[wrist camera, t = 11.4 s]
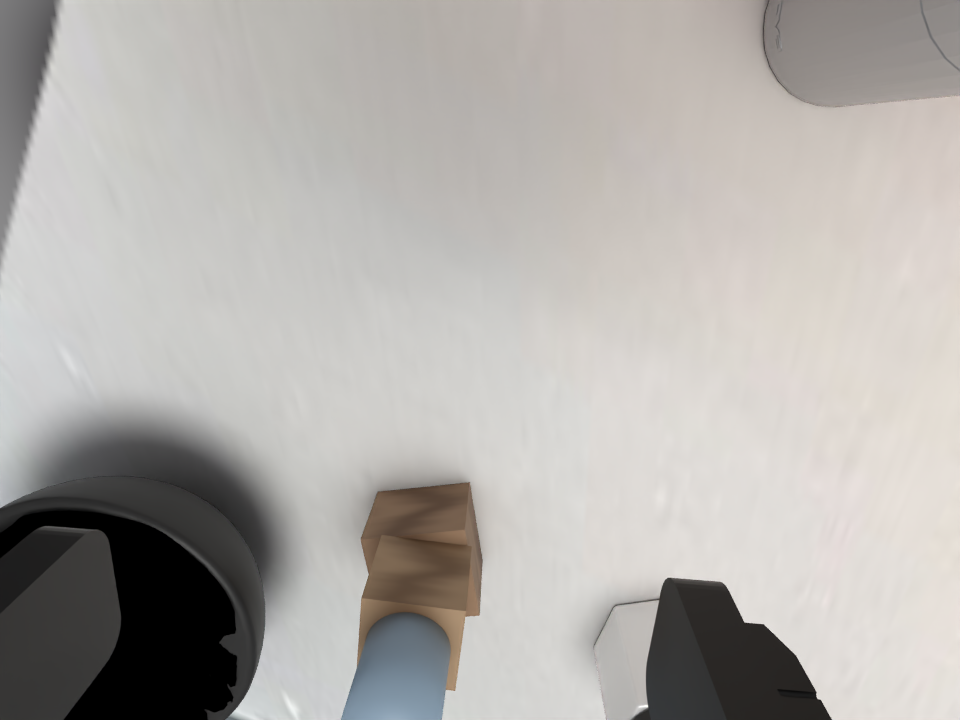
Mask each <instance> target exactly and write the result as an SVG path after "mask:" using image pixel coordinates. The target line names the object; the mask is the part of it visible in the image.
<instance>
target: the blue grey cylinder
mask: <svg viewBox="0 0 960 720" xmlns="http://www.w3.org/2000/svg"><path fill="white" fill-rule="evenodd" d="M450 653H451V647H450V642H449V639H448V636H447V635H446V633H445V631H444V630H443V629H442V628H441V627H440V626H439V625H438V624H437V623H436V622H434V621H433V620H431V619H429V618H427V617H425V616H423V615H419V614H415V613H408V612H400V613H394V614H390V615H387V616H385V617H383V618H381V619H380V620H378V621H377V622H376V623H375V624H374V625H373V626H372V627H371V628H370V630H369V632H368V635H367V638H366V641H365V644H364V647H363V650H362V654H361V657H360V660H359V663H358V666H357V670H356V673H355V676H354V679H353V683H352V686H351V689H350V692H349V695H348V699H347V702H346V705H345V708H344V711H343V715H342V718H341V720H442V713H443V706H444V698H445V691H446V683H447V676H448V668H449V661H450Z"/></svg>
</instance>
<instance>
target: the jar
mask: <svg viewBox="0 0 960 720" xmlns="http://www.w3.org/2000/svg"><path fill="white" fill-rule="evenodd" d="M658 604H659V600H654V601H647V602H640V603H632V604H625V605H618V606H615V607H614V608H613V610H612V612H611V614H610V616H609V618H608V620H607V622H606V624H605V626H604V628H603V630H602V632H601V634H600V636H599V638H598V640H597V642H596V644H595V646H594V653H595V659H596V665H597V671H598V676H599V682H600V688H601V693H602V699H603V705H604V711H605V716H606V720H651V717H650V713H649V708H648V703H647V695H646V665H647V658H648V653H649V648H650V643H651V638H652V633H653V628H654V624H655V619H656V614H657V609H658Z"/></svg>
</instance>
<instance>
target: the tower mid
mask: <svg viewBox="0 0 960 720" xmlns="http://www.w3.org/2000/svg"><path fill="white" fill-rule="evenodd" d="M471 550H472V546H466V545H458V544H450V543H442V542H434V541H426V540H419V539H411V538H403V537H395V536H387V535H381V539H380V542H379V545H378V548H377V551H376V554H375V557H374V560H373V564H372V567H371V570H370V573H369V576H368V579H367V582H366V585H365V589H364V592H363V595H362V598H361V612H360V628H359V643H358V658H357V666H358V663H359V660H360V657H361V654H362V650H363V647H364V644H365V641H366V638H367V635H368V632H369V630H370V628H371V627H372V626H373V625H374V624H375V623H376V622H377V621H378V620H380V619H381V618H383V617H385V616H387V615H390V614H394V613H400V612H408V613H415V614H419V615H423V616H425V617H427V618H429V619H431V620H433V621H434V622H436V623H437V624H438V625H439V626H440V627H441V628H442V629H443V630H444V631H445V633H446V635H447V636H448V639H449V642H450V647H451V653H450V661H449V668H448V676H447V683H446V690H453V691H455V688H456V681H457V673H458V666H459V659H460V652H461V644H462V637H463V630H464V623H465V615H466V606H467V595H468V584H469V573H470V561H471Z"/></svg>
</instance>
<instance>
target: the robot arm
mask: <svg viewBox="0 0 960 720" xmlns="http://www.w3.org/2000/svg"><path fill="white" fill-rule="evenodd" d="M764 42H765V51H766V55H767V58H768V61H769V64H770V67H771V69H772V71H773V72H774V74H775V76H776V77H777V79H778V81H779V82H780V83H781V84H782V85H783V86H784V87H785V88H786V89H787V90H788V91H789V92H790V93H791V94H793V95H794V96H796V97H798V98H799V99H801V100H803V101H805V102H808V103H811V104H814V105H818V106H828V107H841V106H851V105H862V104H875V103H886V102H896V101H907V100H918V99H928V98H939V97H950V96H960V0H769V3H768V7H767V10H766V14H765V24H764ZM120 626H121V612H120V606H119V600H118V594H117V588H116V582H115V575H114V569H113V563H112V557H111V551H110V545H109V541H108V538H107V536H106V535H105V534H104V533H103V532H102V531H99V530H91V529H79V528H66V527H54V526H43V527H40V528H38V529H36V530H34V531H33V532H32V533H30V534H29V535H28V536H27V537H26V538H24V539H23V540H22V541H21V542H20V543H18V544H17V545H16V546H15V547H14V548H12V549H11V550H10V551H9V552H8V553H6V554H5V555H4V556H3V557H2V558H0V720H64V718H65V717H66V716H67V714H68V713H69V712H70V710H71V709H72V708H73V706H74V705H75V704H76V702H77V701H78V700H79V699H80V697H81V696H82V695H83V693H84V692H85V691H86V689H87V688H88V687H89V685H90V684H91V683H92V681H93V680H94V679H95V678H96V676H97V675H98V674H99V672H100V671H101V670H102V668H103V667H104V666H105V664H106V663H107V661H108V660H109V658H110V656H111V655H112V652H113V650H114V648H115V646H116V643H117V640H118V636H119V632H120ZM646 695H647V703H648V708H649V713H650V717H651V720H832V719H831V717H830V716H829V714H828V712H827V710H826V709H825V707H824V705H823V703H822V701H821V700H818V699H817V697H816V691H815V689H814V687H813V685H812V684H811V682H810V680H809V678H808V676H807V675H806V673H805V671H804V669H803V667H802V666H801V664H800V662H799V660H798V659H797V657H796V655H795V654H794V653H793V652H792V651H791V650H789V649H788V648H787V647H786V646H785V645H784V644H783V643H782V642H781V641H780V640H779V639H778V638H777V637H776V636H775V635H774V634H773V633H772V632H771V631H770V630H769V629H768V628H767V627H766V626H765V625H764V624H752V623H744V621H743V619H742V617H741V615H740V613H739V611H738V609H737V607H736V605H735V603H734V601H733V599H732V597H731V594H730V592H729V591H728V589H727V587H726V586H725V585H724V584H723V583H722V582H715V581H703V580H690V579H678V578H667V579H666V580H665V581H664V583H663V586H662V590H661V594H660V599H659V604H658V609H657V614H656V619H655V624H654V628H653V633H652V638H651V643H650V648H649V653H648V658H647V665H646Z"/></svg>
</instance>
